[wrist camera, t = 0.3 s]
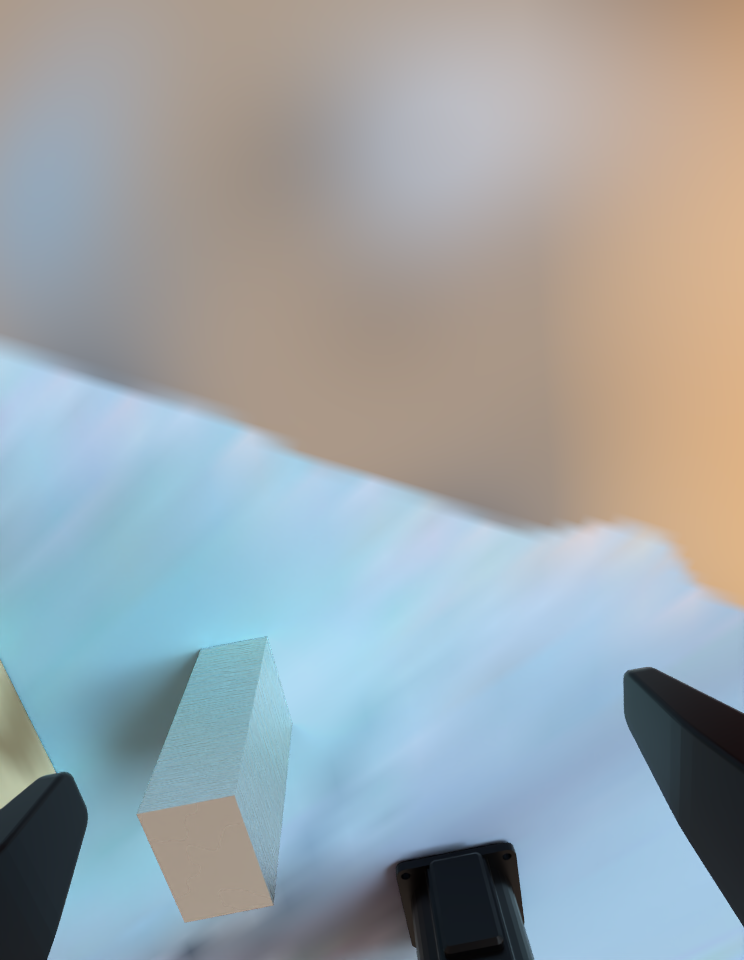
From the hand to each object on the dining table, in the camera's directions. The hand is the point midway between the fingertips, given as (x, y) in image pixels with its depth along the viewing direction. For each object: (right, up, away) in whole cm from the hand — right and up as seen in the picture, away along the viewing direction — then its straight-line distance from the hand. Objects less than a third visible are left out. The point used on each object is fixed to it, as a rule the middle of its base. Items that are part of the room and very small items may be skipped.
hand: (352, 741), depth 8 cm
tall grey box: (-5, -5, +16) cm, 17 cm away
